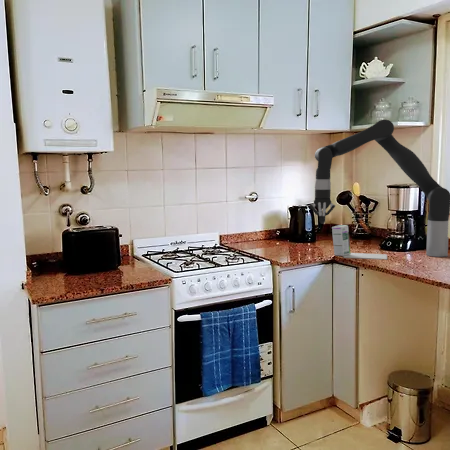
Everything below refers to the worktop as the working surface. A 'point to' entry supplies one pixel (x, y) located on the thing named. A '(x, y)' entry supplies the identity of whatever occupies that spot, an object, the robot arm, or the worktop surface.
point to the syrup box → (341, 240)
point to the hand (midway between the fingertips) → (322, 223)
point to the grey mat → (366, 256)
